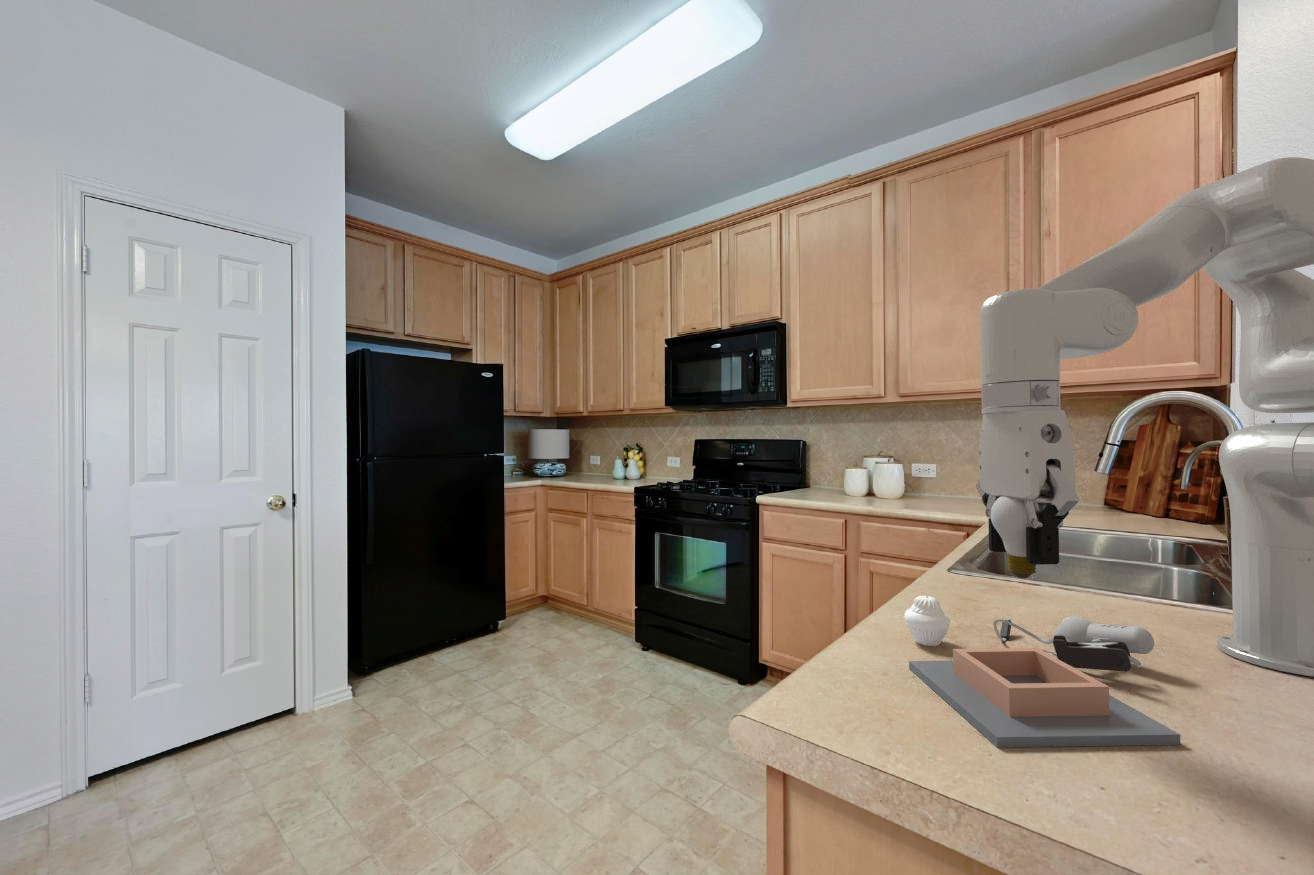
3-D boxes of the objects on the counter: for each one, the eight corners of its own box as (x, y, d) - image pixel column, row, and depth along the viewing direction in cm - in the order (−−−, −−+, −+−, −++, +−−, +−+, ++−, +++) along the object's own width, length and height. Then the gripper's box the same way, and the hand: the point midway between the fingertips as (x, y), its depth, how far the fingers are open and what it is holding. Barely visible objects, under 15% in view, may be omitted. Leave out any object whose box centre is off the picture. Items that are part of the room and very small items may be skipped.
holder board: (1045, 666, 70) (1044, 636, 70) (1180, 744, 52) (1179, 703, 52) (909, 668, 70) (908, 638, 70) (997, 747, 52) (996, 706, 52)
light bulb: (1056, 587, 57) (1055, 494, 57) (991, 580, 60) (990, 491, 60) (1051, 575, 62) (1049, 489, 62) (991, 569, 65) (990, 487, 65)
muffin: (960, 646, 77) (959, 598, 77) (930, 653, 75) (929, 603, 75) (924, 632, 83) (923, 587, 83) (895, 638, 81) (894, 592, 81)
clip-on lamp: (980, 666, 78) (1132, 686, 62) (967, 622, 78) (1114, 631, 63) (1021, 642, 83) (1169, 655, 68) (1008, 601, 84) (1152, 605, 69)
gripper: (1117, 393, 53) (1120, 575, 52) (1003, 405, 70) (1005, 542, 70) (1041, 394, 53) (1044, 576, 52) (946, 405, 70) (948, 543, 70)
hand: (1022, 555), depth 61 cm, fingers closed on light bulb, 5 cm apart
